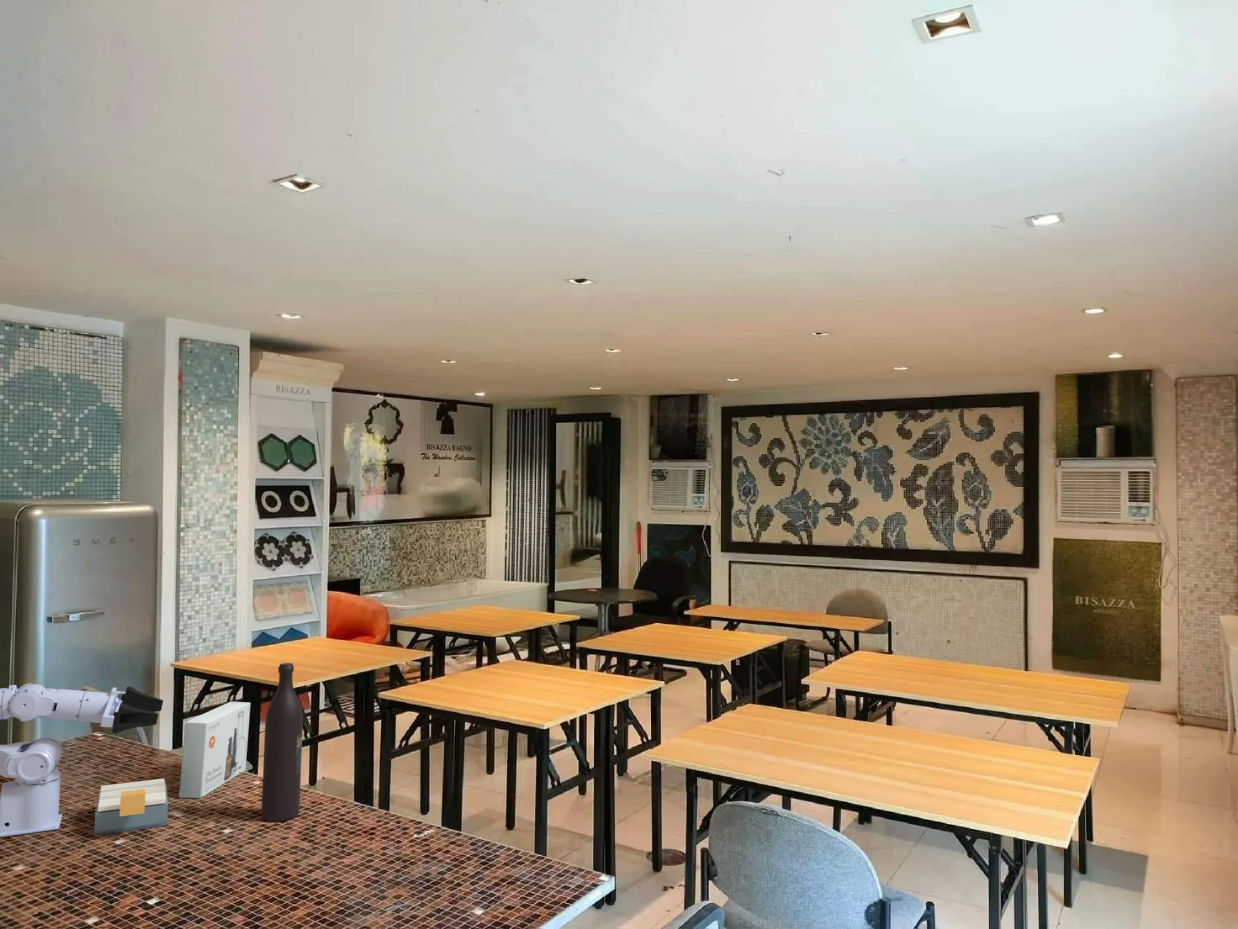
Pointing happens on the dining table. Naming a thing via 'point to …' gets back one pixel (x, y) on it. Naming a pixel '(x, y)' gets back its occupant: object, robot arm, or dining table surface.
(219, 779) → the skincare box
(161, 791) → the lid
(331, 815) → the dining table surface
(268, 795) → the wine bottle
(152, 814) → the tub
